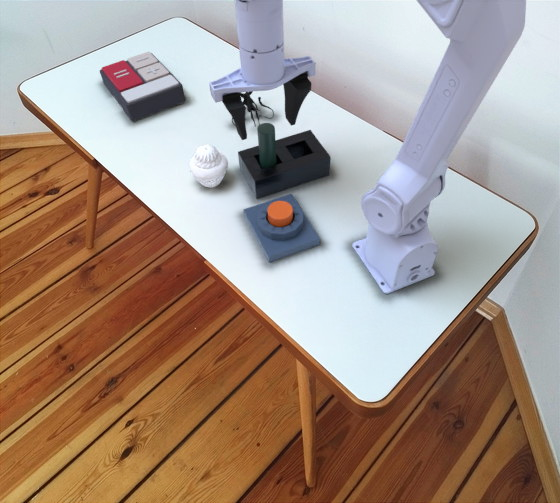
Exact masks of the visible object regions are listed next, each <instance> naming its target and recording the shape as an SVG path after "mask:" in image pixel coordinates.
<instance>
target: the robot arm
mask: <svg viewBox="0 0 560 503" xmlns="http://www.w3.org/2000/svg"><path fill="white" fill-rule="evenodd" d="M416 2H417V3H418V4H419V5H420V7H421V8H422V9H423V10H424V12H425V13H426V14H427V15H428V17H429V18H430V20H431V21H432V22H433V23H434V25H435V26H436V27H437V28H438V30H439V31H440V32H441V34H442V35H443V36H444V37H445V38H446V39H449V44H448V45H447V48H446V50H445V52H444V55H443V57H442V59H441V61H440V63H439V64H438V67H437V70H436V72H435V73H434V76H433V78H432V80H431V82H430V84H429V86H428V88H427V91H426V92H425V95H424V97H423V100H422V101H421V103H420V105H419V107H418V109H417V111H416V112H417V113H416V114H415V116H414V118H413V121H412V123H411V126H410V127H409V129H408V131H407V134H406V136H405V138H404V140H403V142H402V145H401V147H400V148H399V150H398V152H397V155H396V157H395V159H394V160H393V161H392V163H391V164H390V165H389V166H388V168H387V169H386V170H385V171H384V172H383V174H382V176H380V178H379V179H378V180H377V182H376V184H375V186H374V187H373V188H371V189H369V190H368V191H367V192H365V193H364V194H363V195H362V197H361V201H360V206H361V211H362V213H363V214H362V215H363V216H364V218H365V220H366V221H367V224H368V225H367V230H366V237H365V238H362V239H358V240H355V241H353V242H352V245H351V246H352V248H353V250H354V251H355V253H356V254H357V256H358V258H360V260H361V262H362V263H363V264H364V266H365V268H366V269H367V271H368V272H369V273H370V275H371V277H372V278H373V280H374V281H375V282H376V284H377V285H378V287H379V288H380V290H381V291H382V293H384V294H386V295H387V294H391V293H393V292H396V291H398V290H400V289H404V288H405V287H408V286H410V285H413V284H415V283H418V282H420V281H423V280H426V279H428V278H430V277H433V276H434V275H435V274H436V271H435V270H434V268H433V266H434V264H435V261H436V257H437V254H438V251H439V247H438V244H437V242H436V241H435V239H434V238H433V237H432V234H431V231H430V228H429V223H428V222H429V221H428V219H429V214H430V206H431V203H432V202H433V200H434V199H436V198H437V197H439V196H440V195H441V194H442V193H443V192H444V190H445V187H446V173H447V171H448V169H449V168H450V166H451V165H450V162H449V161H448V159H449V157H450V156H451V154H452V152H453V151H454V149H455V147H456V146H457V145H458V143H459V141H460V139H461V137H462V136H463V134H464V133H465V131H466V129H467V127H468V125H469V124H470V122H471V121H472V119H473V117H474V116H475V114H476V112H477V111H478V109H479V107H480V106H481V104H482V102H483V100H484V99H485V97H486V96H487V94H488V93H489V90H490V89H491V87H492V85H493V84H494V82H495V80H496V79H497V77H498V76H499V74H500V72H501V71H502V69H503V67H504V65H505V64H506V62H507V60H508V59H509V57H510V55H511V54H512V52H513V50H514V48H515V47H516V45H517V44H518V42H519V40H520V39H521V37H522V36H523V31H524V30H525V26H526V14H527V13H526V12H527V0H416ZM234 10H235V11H234V12H235V22H236V30H237V41H238V51H239V60H240V61H239V62H240V67H239V68H237V69H236V70H233V71H231V72H230V73H227V74H226V75H224V76H222V77H221V78H218V79H216V80H213V81H209V82H208V86H209V91H210V92H209V93H210V96H211V97H212V99H213V101H214V103H221V102H222V103H223V105H224V107H225V109H226V111H228V113H229V115H230V116H231V119H232V118H233V123H234V124H235V125H236V126H235V125H234V126H235V129H236V133H237V134H238V136H239V137H240V139H241V141H245V140H247V139H248V132H247V126H246V120H245V119H246V111H247V106H246V105H244V104H243V100H242V97H241V96H240V95H239V93H246V92H251V91H253V92H265V91H266V92H267V91H271V90H275V89H277V88H280V87H281V86H282V85H283V92H284V115H285V119H286V120H287V122H288V123H289V125H290V126H294V125H296V122H297V119H298V115H299V112H300V110H301V107H302V105H303V103H304V102H305V99H306V98H307V96H308V95H309V93H310V92H311V91H312V81H310V79H309V77H313V76H316V62H315V60H314V59H313V58H312V57H311V55H306V56H301V57H289V58H288V57H287V58H285V35H284V34H285V30H284V28H285V27H284V0H234Z"/></svg>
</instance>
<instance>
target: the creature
mask: <svg viewBox="0 0 560 503" xmlns="http://www.w3.org/2000/svg"><path fill="white" fill-rule="evenodd" d="M253 92H254V91H251V92H242V93H239V95H240V97H241V99H243V100H242V102H243V104H244V105H245V107H246V111H247V113H250V119H251V120H252V121H253V125H254V127H257V125H256V120H255V118H254V114H253V112H255V117H256V119H257V122H258V126H259V125H260V124H261V123H260V117H261V114H259V113H258V111H260V112H261V110H260V109H258V105H257V103H256V102H255V101H254V99H253V98H252V97H251V95H252V94H253ZM257 99H258V104H259V105H260V106H261V107H262V108H267V109H269V110H271V111H272V116H271V117H267V116H263V115H262V117H263V118H266V119H269V120H271V119H273V118H274V116H275V111H274V109H273V108H271V106H268V105H266V104H264V103H263V102H262V97H261V96H258V97H257ZM246 120H247V118H245V121H246ZM231 123H232V125H233V126H235V127H236V125H235V123H234V120H233V118H232V117H231Z"/></svg>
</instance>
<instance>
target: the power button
mask: <svg viewBox="0 0 560 503" xmlns="http://www.w3.org/2000/svg"><path fill="white" fill-rule="evenodd" d="M267 211H268V221H269V222H270V224H271V225H273V226H275V227H285V226H287V225H289V224H290V223H291V222H292V220H293V208H292V206H291V205H290V204H289V203H288V202H285V201H276V202H273V203H272V204H270V205H269V207H268V210H267Z"/></svg>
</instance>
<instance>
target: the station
mask: <svg viewBox="0 0 560 503" xmlns="http://www.w3.org/2000/svg"><path fill="white" fill-rule="evenodd" d="M276 201H285V202H288V203H289V204H290V205H291V206H292V208H293V220H292V222H291V223H290V224H289V225H287V226H285V227H275V226H273V225H271V224H270V222H269V221H268V211H267V210H268V207H269V205H270V204H272V203H273V202H276ZM242 210H243V217H244V219H245V221H246V222H247V224H248V226H249V228H250V230H251V231H252V233H253V235H254V237H255V239H256V241H257V243H258V245H259V247H260V249H261V250H262V252H263V254H264V257H265V258H266V260H267V262H268V263H273V262H275V261H278V260H281V259H285V258H287V257H290V256H292V255H295V254H298V253H300V252H303V251H305V250H308V249H311V248H315V247H317V246H320V244H321V243H320V242H321V238H320V236H319V235H318V233H317V232H316V230H315V228H314V227H313V225H312V224H311V222H310V221H309V219H308V217H307V216H306V214H305V213H304V211H303V209H302V208H301V206H300V205H299V203H298V201H297V200H296V199H295V197H294V195H293V193H289V194H286V195H282V196H280V197H277V198H274V199H271V200H268V201H265V202H262V203H259V204H255V205H253V206H249V207H246V208H244V209H242Z"/></svg>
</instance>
